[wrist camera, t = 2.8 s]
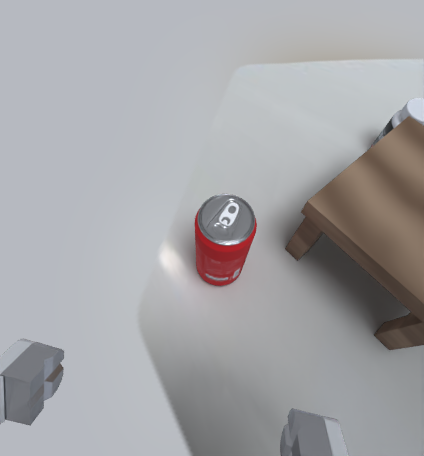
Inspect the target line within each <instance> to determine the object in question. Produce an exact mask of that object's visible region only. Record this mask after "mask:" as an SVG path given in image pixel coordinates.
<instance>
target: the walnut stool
mask: <svg viewBox="0 0 424 456" xmlns="http://www.w3.org/2000/svg"><path fill="white" fill-rule="evenodd" d="M301 213H302V214H303V215H305V216H306V217H305V219H304V220H303V222H302V223H301V225H300V226H299V228H298V229H297V231H296V233H295V234H294V236H293V237H292V239H291V240H290V242H289V243H288V245H287V246H286V248H285V249H286V250H287V251H288V252H289V253H290V254H291V255H292V256H293V257H294V258H295V259H296V260H297V261H298V260H299V259H300V258H301V257H302V256H303V255H304V254H305V253H306V252H308V251H309V249H310V248H311V247H312V246H313V245H314V244H315V242H316V241H317V240H318V239H319V238H320V236H321V235H322V234H323V233H324V234H326V235H327V236H328V237H329V238H330V239H331V240H332V241H333V242H334V243H336V244H337V245H338V246H339V247H340V248H341V249H342V250H343V251H344V252H346V253H347V254H348V255H349V256H350V257H351V258H352V259H353V260H354V261H355V262H357V263H358V264H359V265H360V266H361V267H362V268H363V269H364V270H365V271H367V272H368V273H369V274H370V275H371V276H372V277H373V278H374V279H375V280H377V281H378V282H379V283H380V284H381V285H382V286H383V287H384V288H385V289H386V290H388V291H389V292H390V293H391V294H392V295H393V296H394V297H395V298H396V299H398V300H399V301H400V302H401V303H402V304H403V305H404V306H405V307H406V308H408V309H409V310H410V311H411V312H410V313H409V315H407V316H404V317H401V318H397V319H394V320H391V321H388V322H385V323H384V324H383V325H382V326H381V327H380V328H379V330H378V331H377V332H376V333H375V334H374V336H375V337H376V338H377V339H378V340H379V341H380V342H381V343H382V344H384V345H385V346H386V347H387V348H388V349H389V350H394V349H400V348H407V347H413V346H420V345H424V125H422V124H421V123H419V122H418V121H416V120H415V119H413V118H412V117H410V116H408V117H407V118H406V119H405V120H403V121H402V122H401V123H400V124H399V125H397V126H396V127H395V128H394V129H393V130H392V131H390V132H389V133H388V134H387V135H386V136H384V137H383V138H382V139H381V140H380V141H378V142H377V143H376V144H375V145H374V146H372V147H371V148H370V149H369V150H368V151H367V152H365V153H364V154H363V155H362V156H361V157H359V158H358V159H357V160H356V161H355V162H353V163H352V164H351V165H350V166H349V167H347V168H346V169H345V170H344V171H343V172H342V173H340V174H339V175H338V176H337V177H336V178H334V179H333V180H332V181H331V182H330V183H328V184H327V185H326V186H325V187H324V188H322V189H321V190H320V191H319V192H318V193H317V194H315V195H314V196H313V197H312V198H311V199H309V200H308V201H307V203H306V204H305V206H304V208H303V209H302V211H301Z"/></svg>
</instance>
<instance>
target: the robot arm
mask: <svg viewBox="0 0 424 456" xmlns="http://www.w3.org/2000/svg"><path fill="white" fill-rule="evenodd" d="M63 359H64V351H63V350H62V349H59V348H55V347H52V346H48V345H45V344H41V343H38V342H33V341H30V340H27V339H20V340H18V341H17V342H16V343H14V344H13V345H12V346H11V347H10V348H9V349H8V350H7V351H6V352H4V353H3V354H2V355H1V356H0V424H1V423H3V422H4V421H5V420H10V421H14V422H18V423H22V424H26V425H31V424H32V422H33V421H34V420H35V418H36V417H37V416H38V415H39V413H40V412H41V411H42V409H43V407H44V401H45V400H47V399H49V398H50V397H52V396H53V395H54V393H55V392H56V390H57V389H58V387H59V385H60V382H61V380H62V376H63V367H62V365H61V364H60V362H61V361H62V360H63ZM288 423H289V424H287V425H285V426H284V429H283V432H282V436H281V443H280V452H281V456H349V455H348V451H347V448H346V444H345V441H344V438H343V434H342V431H341V427H340V424H339V422H338V420H337V419H333V418H329V417H325V416H320V415H317V414H313V413H309V412H305V411H301V410H297V409H293V408H292V409H291V410H290V412H289V415H288Z"/></svg>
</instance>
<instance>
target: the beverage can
mask: <svg viewBox="0 0 424 456" xmlns="http://www.w3.org/2000/svg"><path fill="white" fill-rule="evenodd" d="M256 227H257V224H256V218H255V215H254V212H253V210H252V208H251V206H250V205H249V204H248V203H247V202H246V201H245V200H243V199H242V198H240V197H238V196H235V195H231V194H220V195H215V196H213V197H211V198H209V199H208V200H207V201H205V202H204V203H203V205H202V206H201V208H200V209H199V211H198V212H197V215H196V218H195V244H196V266H197V270H198V273H199V274H200V276H201V277H202V278H203V279H204V280H205V281H206V282H208V283H210V284H212V285H217V286H222V285H227V284H230V283H232V282H233V281H234V280H236V279H237V277H238V276H239V275H240V273H241V270H242V267H243V265H244V262H245V259H246V257H247V254H248V251H249V249H250V246H251V244H252V241H253V238H254V236H255V233H256Z"/></svg>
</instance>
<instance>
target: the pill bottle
mask: <svg viewBox="0 0 424 456" xmlns="http://www.w3.org/2000/svg"><path fill="white" fill-rule="evenodd" d="M408 116H410V117H412V118H413V119H415V120H416V121H418V122H419V123H421V124H422V125H424V98H414V99H411V100H410V101H408V103H407V104H406V105H405V106H404V107H403V109H402V110H400V111H398V112H397V113H396V114H395V115H394V116H393V117H392V118H391V120H390V121H389V123H388V124H387V125H386V127H385V128H384V129H383V131H382V132H381V133H380V135H379V136H378V137H377V139H376V140H375V142H374V143H373V144H372V146H374V145H375V144H376V143H377V142H378V141H380V140H381V139H382V138H383V137H384V136H386V135H387V134H388V133H389V132H390V131H392V130H393V129H394V128H395V127H396V126H397V125H399V124H400V123H401V122H402V121H403V120H405V119H406V118H407V117H408ZM372 146H371V147H372Z"/></svg>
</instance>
